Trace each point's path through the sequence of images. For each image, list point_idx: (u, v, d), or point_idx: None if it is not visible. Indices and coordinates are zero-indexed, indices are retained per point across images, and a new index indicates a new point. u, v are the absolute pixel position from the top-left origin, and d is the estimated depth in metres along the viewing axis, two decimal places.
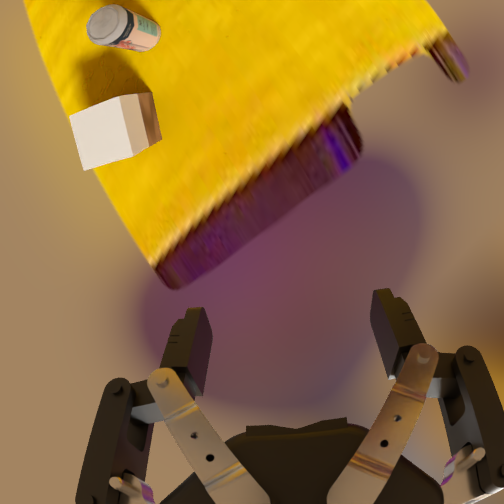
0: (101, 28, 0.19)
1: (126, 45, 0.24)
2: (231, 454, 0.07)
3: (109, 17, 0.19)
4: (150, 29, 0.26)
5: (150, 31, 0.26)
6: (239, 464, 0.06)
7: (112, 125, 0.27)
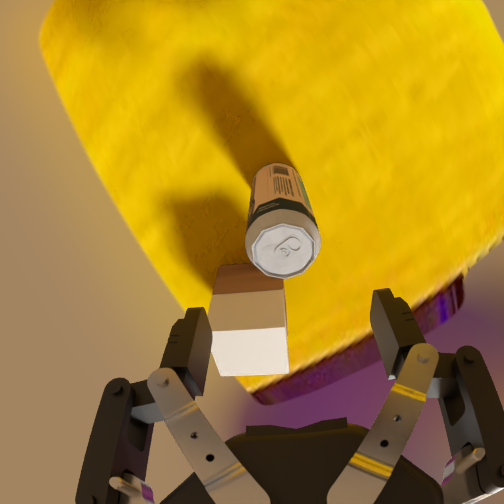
0: (281, 260, 0.18)
1: None
2: (231, 454, 0.07)
3: (297, 246, 0.18)
4: None
5: None
6: (239, 464, 0.06)
7: (270, 350, 0.26)
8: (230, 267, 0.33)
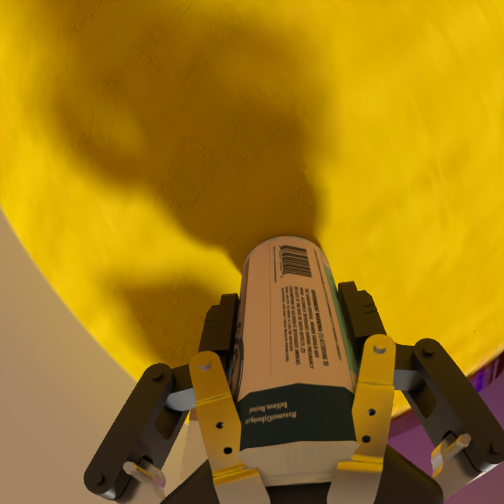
0: None
1: None
2: None
3: None
4: None
5: None
6: None
7: None
8: None
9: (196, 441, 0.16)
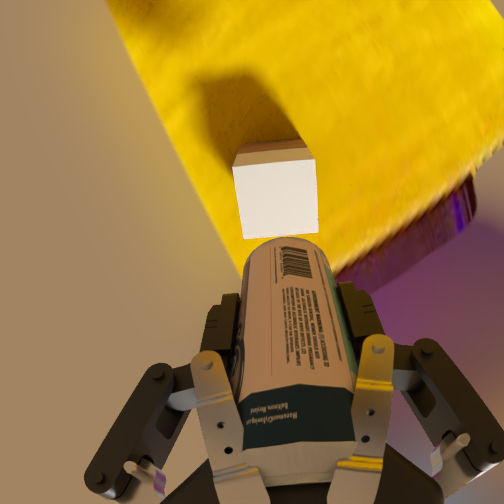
0: None
1: None
2: None
3: None
4: None
5: None
6: None
7: (299, 193, 0.25)
8: (253, 144, 0.32)
9: (243, 157, 0.27)
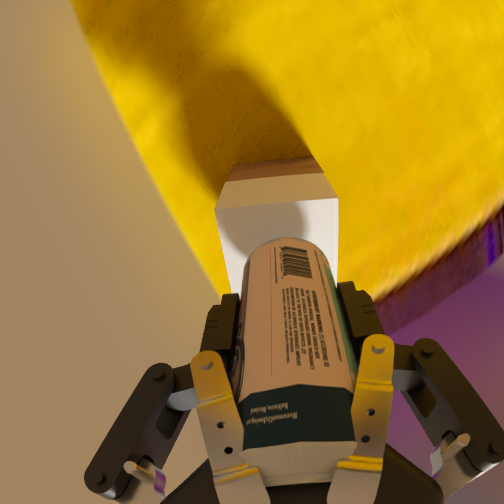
0: None
1: None
2: None
3: None
4: None
5: None
6: None
7: None
8: (248, 165, 0.24)
9: (233, 188, 0.19)
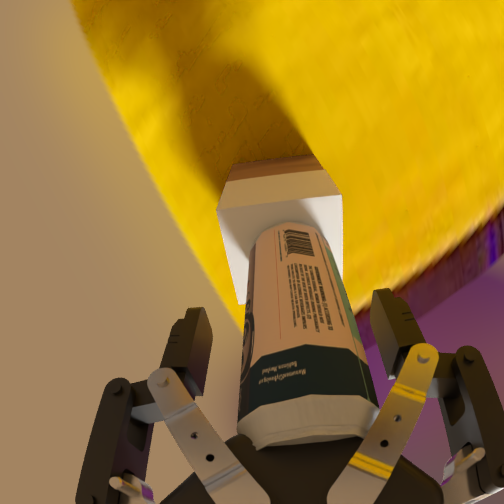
0: None
1: None
2: (231, 454, 0.07)
3: None
4: None
5: None
6: (239, 464, 0.06)
7: None
8: (248, 164, 0.24)
9: (234, 188, 0.19)
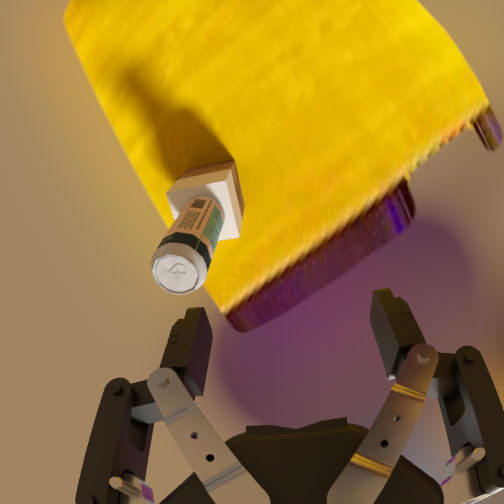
0: (175, 280, 0.23)
1: None
2: (231, 454, 0.07)
3: (184, 270, 0.23)
4: (219, 231, 0.29)
5: (219, 233, 0.30)
6: (239, 464, 0.06)
7: None
8: (195, 168, 0.40)
9: (179, 182, 0.35)
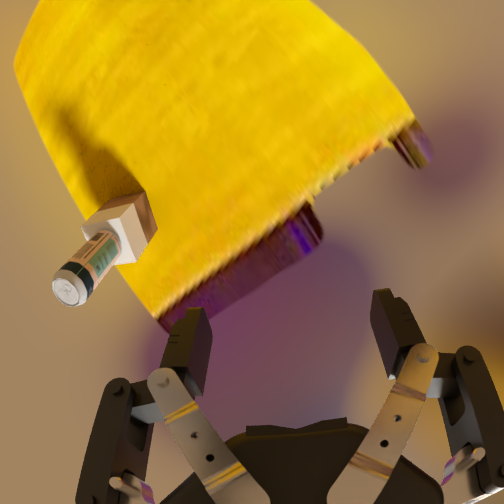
0: (67, 296, 0.28)
1: None
2: (231, 454, 0.07)
3: (69, 289, 0.27)
4: (109, 258, 0.34)
5: (110, 260, 0.34)
6: (239, 464, 0.06)
7: None
8: (115, 199, 0.45)
9: (95, 215, 0.40)
